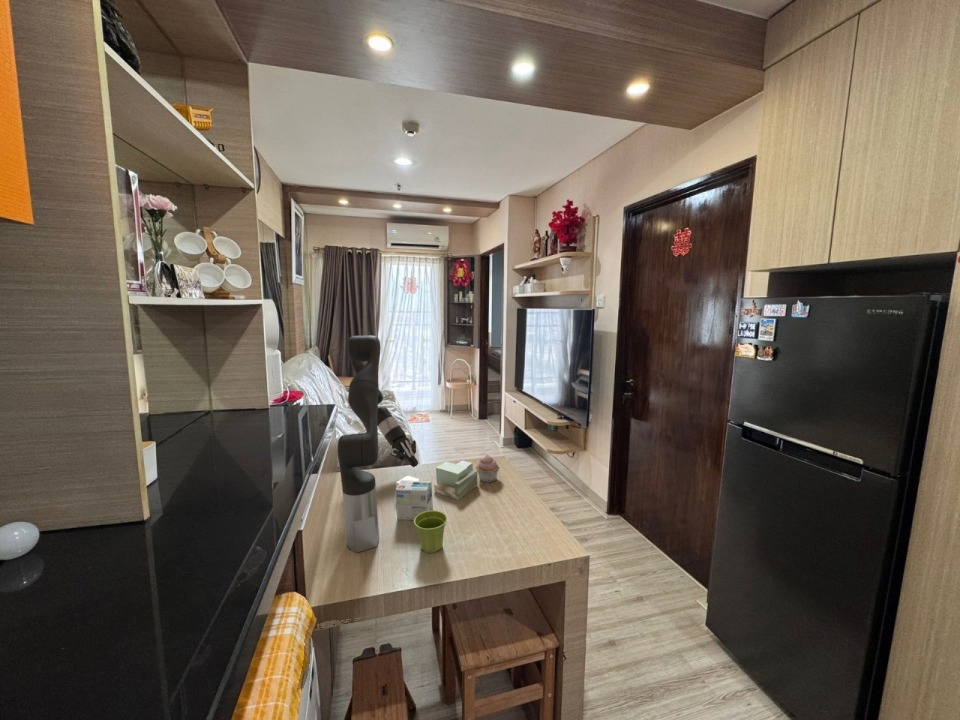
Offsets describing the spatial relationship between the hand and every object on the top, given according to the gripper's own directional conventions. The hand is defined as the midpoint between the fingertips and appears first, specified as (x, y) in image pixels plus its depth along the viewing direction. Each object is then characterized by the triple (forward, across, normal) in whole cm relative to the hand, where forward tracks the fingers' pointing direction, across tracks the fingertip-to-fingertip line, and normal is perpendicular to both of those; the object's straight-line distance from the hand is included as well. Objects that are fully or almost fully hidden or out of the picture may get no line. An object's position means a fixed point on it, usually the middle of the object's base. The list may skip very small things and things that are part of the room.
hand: (416, 465), depth 157 cm
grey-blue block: (+14, +10, -8) cm, 19 cm away
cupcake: (+21, +13, -14) cm, 29 cm away
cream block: (+9, -13, -2) cm, 16 cm away
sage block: (+16, 0, -9) cm, 18 cm away
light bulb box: (+16, -21, -9) cm, 28 cm away
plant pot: (+27, -30, -20) cm, 45 cm away
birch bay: (+17, 0, -10) cm, 20 cm away
